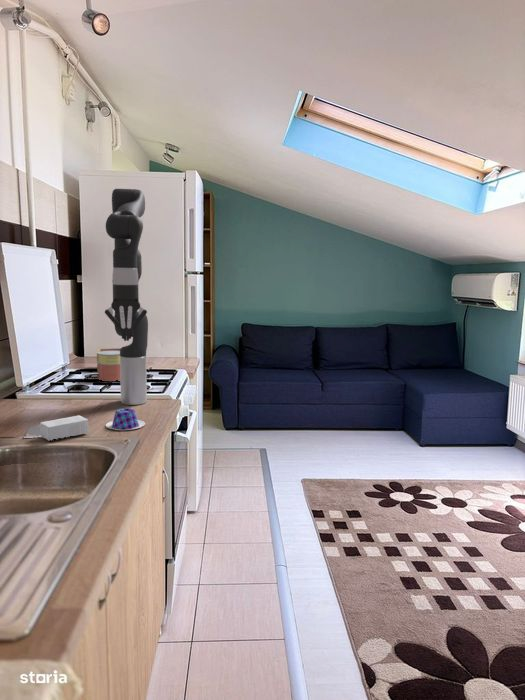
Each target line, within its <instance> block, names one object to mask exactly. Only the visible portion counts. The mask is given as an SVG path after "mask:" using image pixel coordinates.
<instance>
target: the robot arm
mask: <svg viewBox="0 0 525 700" xmlns="http://www.w3.org/2000/svg"><path fill="white" fill-rule="evenodd" d="M145 209H146V199H145V194H144V192H143V191H142V190H141V189H136V188H114V189H113V190H112V193H111V210H112V211H111V212H112V213H111V214H109V215H108V217H107V218H106V221H105V232H106V233H107V236H109V237H110V238H111V239H113V240H114V249H113V250H112V278H111V282H112V283H111V284H112V302H111V305H110V306H109V307H108V308H107V309H105V310H104V313H105V315H106V316H107V317H108V319H109V320H110V321H111V323H113V325H114V330H115V332H116V335H118V336H120V337H121V339H122V340H123V341H124V342H126V341H127V342H130V339H132V341H131V343H130V344H129V345H125V346H122V347H121V349H120V382H119V383H120V403H121V404H122V405H130V406H135V405H142V404H145V403H147V402H148V401H147V400H148V399H147V395H148V394H147V392H148V391H147V390H148V389H147V387H148V386H147V384H148V383H147V350H148V338H149V337H148V335H149V334H148V333H149V320H148V316H147V314H148V310H147V309H145V308H143V307H142V306H141V303H140V301H139V299H140V297H139V295H140V294H139V281H140V278H141V277H142V271H143V270H142V269H143V268H142V267H143V266H142V265H143V264H142V254H141V251H140V250H139V245H140V240H141V239H142V234H143V230H144V223H143V220H142V216H144V213H145ZM113 314H114V315H113Z"/></svg>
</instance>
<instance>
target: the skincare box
mask: <svg viewBox="0 0 525 700" xmlns="http://www.w3.org/2000/svg"><path fill="white" fill-rule="evenodd" d="M39 427H40V430H41V436H42V437H44V438H43V439H45V438H46V439H45V440H46V441H48V442H49V441H50V440H51V441H54V440H53V439H56V440H58V439H57V438H61V439H64V438H63V437H66V438H71V437H70V436H74V437H76V436H80V435H85V434H88V433H89V419H88V418H86V417H83V416H81V415H79V414H78V415H73V416H68V417H63V418H62V417H61V418H58V419H52V420H46V421H40V424H39Z"/></svg>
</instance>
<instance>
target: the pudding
mask: <svg viewBox="0 0 525 700" xmlns="http://www.w3.org/2000/svg"><path fill="white" fill-rule="evenodd" d="M145 425H146V422H145V421H144V420H141V419H138V417H137V413H136V411H135V409H134V408H129V407H127V408H120V409H117V410H116V411H115V413H114V417H113V420H111V421H108V422H107V423H106V424H105V427H106V428H107V429H110V430H115V431H131V430H136V429H140V428H143V427H144V426H145ZM138 426H139V427H138Z"/></svg>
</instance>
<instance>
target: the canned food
mask: <svg viewBox="0 0 525 700" xmlns="http://www.w3.org/2000/svg"><path fill="white" fill-rule="evenodd" d="M97 373H98V377H97V378H98V379H99V380H102V381H116V380H118V381H120V351H115V350H111V351H101V352H98V372H97Z"/></svg>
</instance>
